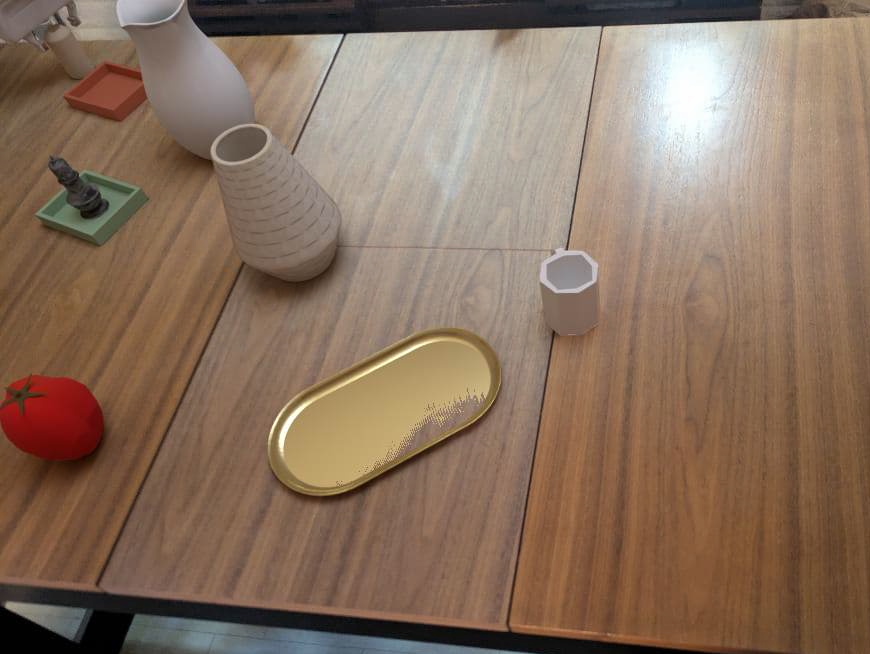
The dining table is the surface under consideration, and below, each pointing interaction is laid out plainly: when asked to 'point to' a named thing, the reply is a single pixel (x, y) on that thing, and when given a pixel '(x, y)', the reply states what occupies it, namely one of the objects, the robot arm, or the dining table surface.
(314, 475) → the serving platter
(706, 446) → the dining table surface
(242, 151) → the vase
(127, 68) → the terracotta tray
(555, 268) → the mug
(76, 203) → the dark grey figurine
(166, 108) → the pitcher
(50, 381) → the tomato
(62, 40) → the candle
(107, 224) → the green tray
